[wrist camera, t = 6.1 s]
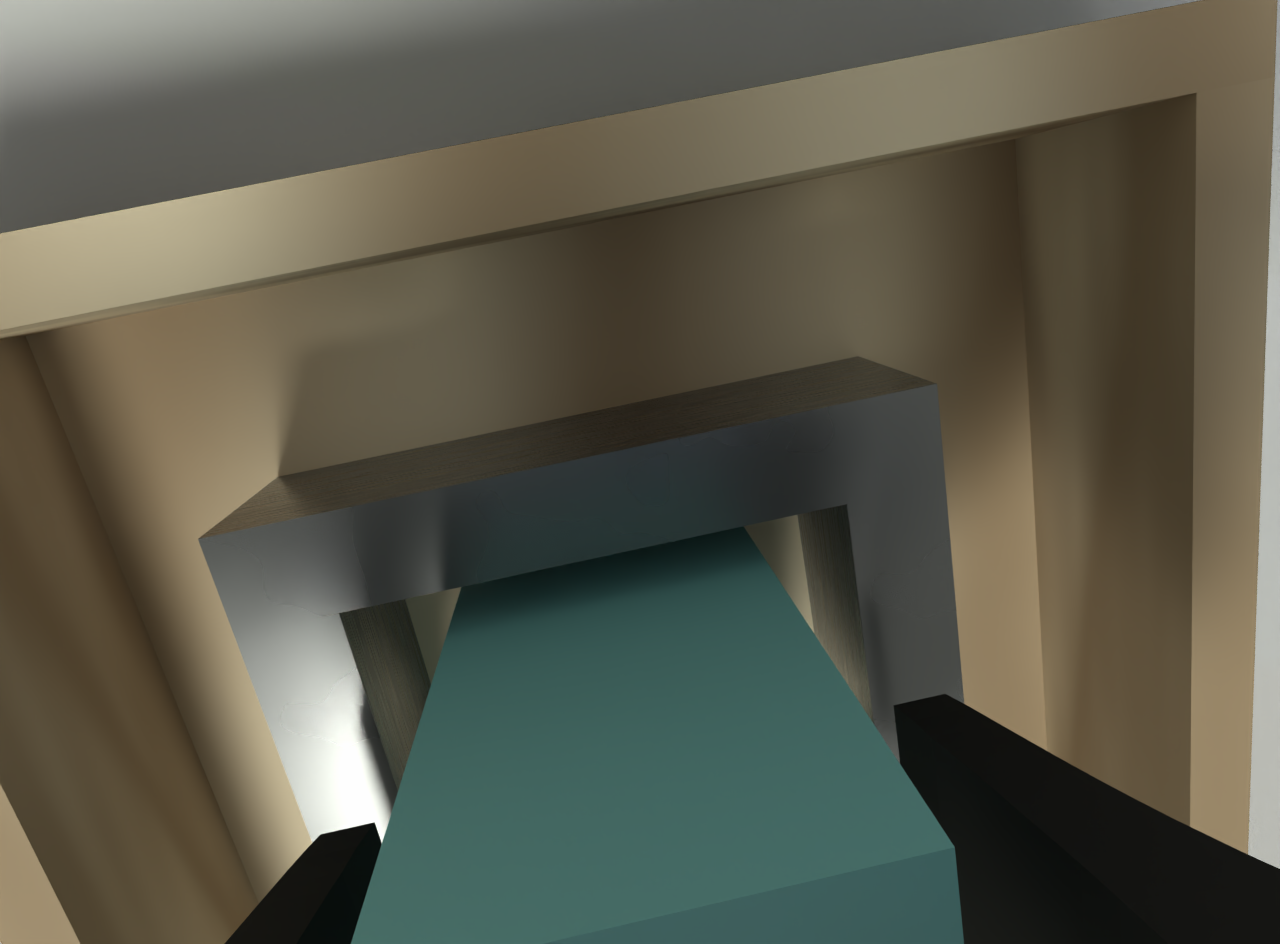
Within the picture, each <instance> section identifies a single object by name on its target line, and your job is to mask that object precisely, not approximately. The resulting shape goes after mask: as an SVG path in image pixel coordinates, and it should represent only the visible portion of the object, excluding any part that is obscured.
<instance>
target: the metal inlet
mask: <svg viewBox="0 0 1280 944" xmlns="http://www.w3.org/2000/svg"><path fill="white" fill-rule="evenodd" d="M794 515H797V516H798V523H799V530H800V537H801V544H802V551H803V558H804V565H805V572H806V579H807V586H808V593H809V600H810V607H811V614H812V621H813V628H814V634H815V636H816V637H817V639H818V640H819V642H820V643H821V645H822V646H823V648H824V649H825V651H826V652H827V654H828V655H829V657H830V658H831V660H832V661H833V663H834V664H835V666H836V668H837V669H838V671H839V672H840V674H841V675H842V677H843V678H844V680H845V681H846V683H847V684H848V686H849V687H850V689H851V690H852V692H853V693H854V695H855V696H856V698H857V699H858V701H859V702H860V704H861V706H862V707H863V709H864V710H865V712H866V713H867V715H868V716H869V718H870V719H871V721H872V722H873V724H874V725H875V727H876V728H877V730H878V731H879V733H880V734H881V736H882V737H883V739H884V740H885V742H886V744H887V745H888V747H889V748H890V750H891V751H892V753H893V754H894V756H895V757H896V759H897V760H898V762H899V763H900V758H899V749H898V741H897V732H896V723H895V715H894V706H893V705H897V704H902V703H906V702H910V701H915V700H919V699H924V698H928V697H933V696H937V695H942V694H947V695H949V696H951V697H953V698H954V699H956V700H958V701H960V702H962V703H964V694H963V682H962V671H961V659H960V647H959V635H958V624H957V612H956V600H955V588H954V576H953V565H952V553H951V541H950V529H949V518H948V506H947V494H946V482H945V471H944V459H943V447H942V435H941V424H940V412H939V400H938V388H937V383H934V382H931V381H928V380H925V379H922V378H919V377H917V376H914V375H911V374H908V373H905V372H902V371H899V370H896V369H893V368H891V367H888V366H885V365H882V364H879V363H876V362H873V361H870V360H868V359H865V358H862V357H859V356H856V357H852V358H847V359H842V360H837V361H832V362H828V363H823V364H818V365H813V366H808V367H804V368H799V369H794V370H789V371H784V372H780V373H775V374H770V375H765V376H760V377H755V378H751V379H746V380H741V381H736V382H731V383H727V384H722V385H717V386H712V387H707V388H703V389H698V390H693V391H688V392H683V393H679V394H674V395H669V396H664V397H659V398H655V399H650V400H645V401H640V402H635V403H630V404H626V405H621V406H616V407H611V408H606V409H602V410H597V411H592V412H587V413H582V414H578V415H573V416H568V417H563V418H558V419H554V420H549V421H544V422H539V423H534V424H529V425H525V426H520V427H515V428H510V429H505V430H501V431H496V432H491V433H486V434H481V435H477V436H472V437H467V438H462V439H457V440H453V441H448V442H443V443H438V444H433V445H429V446H424V447H419V448H414V449H409V450H404V451H400V452H395V453H390V454H385V455H380V456H376V457H371V458H366V459H361V460H356V461H352V462H347V463H342V464H337V465H332V466H328V467H323V468H318V469H313V470H308V471H303V472H299V473H294V474H289V475H284V476H279V477H277V478H276V479H274V480H273V481H272V482H270V483H269V484H268V485H267V486H265V487H264V488H263V489H261V490H260V491H259V492H258V493H256V494H255V495H254V496H252V497H251V498H250V499H249V500H247V501H246V502H245V503H243V504H242V505H241V506H240V507H238V508H237V509H236V510H234V511H233V512H232V513H231V514H229V515H228V516H227V517H225V518H224V519H223V520H222V521H220V522H219V523H218V524H216V525H215V526H214V527H213V528H211V529H210V530H209V531H207V532H206V533H205V534H204V535H202V536H201V537H200V538H198V541H199V544H200V546H201V549H202V552H203V554H204V557H205V559H206V562H207V565H208V567H209V570H210V573H211V575H212V578H213V581H214V583H215V586H216V589H217V591H218V594H219V597H220V599H221V602H222V605H223V607H224V610H225V613H226V615H227V618H228V621H229V623H230V626H231V628H232V631H233V634H234V636H235V639H236V642H237V644H238V647H239V650H240V652H241V655H242V658H243V660H244V663H245V666H246V668H247V671H248V674H249V676H250V679H251V682H252V684H253V687H254V690H255V692H256V695H257V697H258V700H259V703H260V705H261V708H262V711H263V713H264V716H265V719H266V721H267V724H268V727H269V729H270V732H271V735H272V737H273V740H274V743H275V745H276V748H277V751H278V753H279V756H280V759H281V761H282V764H283V766H284V769H285V772H286V774H287V777H288V780H289V782H290V785H291V788H292V790H293V793H294V796H295V798H296V801H297V804H298V806H299V809H300V812H301V814H302V817H303V820H304V822H305V825H306V827H307V830H308V833H309V835H310V838H311V841H312V843H313V842H314V841H315V840H316V839H317V838H318V836H319V835H320V834H325V833H329V832H333V831H338V830H342V829H347V828H351V827H356V826H360V825H364V824H369V823H373V822H375V825H376V828H377V831H378V833H379V836H380V839H381V842H383V838H384V835H385V832H386V829H387V825H388V822H389V819H390V816H391V813H392V809H393V806H394V803H395V800H396V796H397V793H398V790H399V787H400V783H401V780H402V777H403V774H404V771H405V767H406V764H407V761H408V758H409V754H410V751H411V748H412V745H413V741H414V738H415V735H416V732H417V729H418V725H419V722H420V719H421V716H422V712H423V709H424V706H425V703H426V699H427V696H428V693H429V690H430V687H431V683H430V679H429V676H428V673H427V670H426V666H425V663H424V660H423V656H422V653H421V650H420V647H419V643H418V640H417V637H416V633H415V630H414V627H413V623H412V620H411V617H410V614H409V610H408V607H407V604H406V600H405V599H408V598H412V597H417V596H422V595H426V594H431V593H436V592H440V591H445V590H449V589H454V588H459V587H463V586H468V585H473V584H477V583H482V582H487V581H491V580H496V579H501V578H505V577H510V576H515V575H519V574H524V573H529V572H533V571H538V570H542V569H547V568H552V567H556V566H561V565H566V564H570V563H575V562H580V561H584V560H589V559H594V558H598V557H603V556H608V555H612V554H617V553H622V552H626V551H631V550H636V549H640V548H645V547H649V546H654V545H659V544H663V543H668V542H673V541H677V540H682V539H687V538H691V537H696V536H701V535H705V534H710V533H715V532H719V531H724V530H729V529H733V528H738V527H742V526H747V525H752V524H756V523H761V522H766V521H770V520H775V519H780V518H784V517H789V516H794Z"/></svg>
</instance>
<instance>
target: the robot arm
mask: <svg viewBox="0 0 1280 944" xmlns="http://www.w3.org/2000/svg"><path fill="white" fill-rule="evenodd" d="M893 706H894V715H895V723H896V732H897V741H898V749H899V758H900V765H901V766H902V768H903V769H904V771H905V772H906V774H907V775H908V777H909V778H910V780H911V781H912V783H913V785H914V786H915V788H916V789H917V791H918V792H919V794H920V795H921V797H922V798H923V800H924V801H925V803H926V804H927V806H928V807H929V809H930V810H931V812H932V813H933V815H934V816H935V818H936V819H937V821H938V823H939V824H940V826H941V827H942V829H943V830H944V832H945V833H946V835H947V836H948V838H949V839H950V841H951V842H952V844H953V845H954V847H955V855H956V865H957V876H958V886H959V896H960V907H961V917H962V927H963V938H964V944H1280V869H1278V868H1276V867H1274V866H1272V865H1269V864H1267V863H1265V862H1263V861H1261V860H1258V859H1256V858H1254V857H1252V856H1250V855H1248V854H1246V853H1244V852H1241V851H1239V850H1237V849H1235V848H1233V847H1231V846H1229V845H1227V844H1225V843H1223V842H1221V841H1219V840H1217V839H1215V838H1213V837H1210V836H1208V835H1206V834H1204V833H1202V832H1200V831H1198V830H1196V829H1194V828H1192V827H1190V826H1188V825H1186V824H1184V823H1181V822H1179V821H1177V820H1175V819H1173V818H1171V817H1169V816H1167V815H1165V814H1164V813H1162V812H1160V811H1158V810H1156V809H1154V808H1152V807H1150V806H1148V805H1146V804H1144V803H1142V802H1140V801H1138V800H1136V799H1134V798H1132V797H1131V796H1129V795H1127V794H1125V793H1123V792H1121V791H1119V790H1117V789H1115V788H1114V787H1112V786H1110V785H1108V784H1106V783H1104V782H1102V781H1101V780H1099V779H1097V778H1095V777H1093V776H1091V775H1089V774H1088V773H1086V772H1084V771H1082V770H1080V769H1078V768H1077V767H1075V766H1073V765H1071V764H1069V763H1068V762H1066V761H1064V760H1062V759H1060V758H1059V757H1057V756H1055V755H1053V754H1051V753H1050V752H1048V751H1046V750H1044V749H1043V748H1041V747H1039V746H1037V745H1036V744H1034V743H1032V742H1030V741H1029V740H1027V739H1025V738H1023V737H1022V736H1020V735H1018V734H1016V733H1015V732H1013V731H1011V730H1009V729H1008V728H1006V727H1004V726H1002V725H1001V724H999V723H997V722H995V721H994V720H992V719H990V718H988V717H987V716H985V715H983V714H981V713H980V712H978V711H976V710H974V709H973V708H971V707H969V706H967V705H965V704H964V703H962V702H960V701H958V700H956V699H954V698H953V697H951V696H949V695H947V694H942V695H937V696H933V697H928V698H924V699H919V700H915V701H910V702H906V703H902V704H897V705H893ZM381 845H382V842H381V839H380V836H379V833H378V831H377V828H376V825H375V822H373V823H369V824H364V825H360V826H356V827H351V828H347V829H342V830H338V831H333V832H329V833H325V834H320V835H319V836H318V838H317V839H316V840H315V841H314V842H313V843H312V844H311V845H310V846H309V847H308V848H307V849H306V850H305V851H304V852H303V853H302V855H301V856H300V857H299V858H298V859H297V860H296V861H295V862H294V864H293V865H292V866H291V867H290V868H289V869H288V870H287V872H286V873H285V874H284V875H283V876H282V877H281V878H280V880H279V881H278V882H277V883H276V884H275V885H274V887H273V888H272V889H271V890H270V891H269V892H268V894H267V895H266V896H265V897H264V898H263V899H262V901H261V902H260V903H259V904H258V905H257V906H256V908H255V909H254V910H253V911H252V912H251V913H250V915H249V916H248V917H247V918H246V919H245V920H244V922H243V923H242V924H241V925H240V926H239V927H238V929H237V930H236V931H235V932H234V933H233V934H232V935H231V937H230V938H229V939H228V940H227V941H226V942H225V943H224V944H351V942H352V938H353V935H354V932H355V929H356V926H357V922H358V919H359V916H360V913H361V909H362V906H363V903H364V900H365V896H366V893H367V890H368V887H369V884H370V880H371V877H372V874H373V871H374V867H375V864H376V861H377V858H378V854H379V851H380V848H381Z"/></svg>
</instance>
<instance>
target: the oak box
mask: <svg viewBox="0 0 1280 944" xmlns="http://www.w3.org/2000/svg"><path fill="white" fill-rule="evenodd" d="M1276 24H1277V0H1202V1H1196V2H1191V3H1186V4H1181V5H1176V6H1171V7H1165V8H1160V9H1155V10H1150V11H1145V12H1140V13H1135V14H1129V15H1124V16H1119V17H1114V18H1109V19H1104V20H1098V21H1093V22H1088V23H1083V24H1078V25H1073V26H1067V27H1062V28H1057V29H1052V30H1047V31H1042V32H1037V33H1031V34H1026V35H1021V36H1016V37H1011V38H1006V39H1000V40H995V41H990V42H985V43H980V44H975V45H970V46H964V47H959V48H954V49H949V50H944V51H939V52H933V53H928V54H923V55H918V56H913V57H908V58H903V59H897V60H892V61H887V62H882V63H877V64H872V65H866V66H861V67H856V68H851V69H846V70H841V71H835V72H830V73H825V74H820V75H815V76H810V77H805V78H799V79H794V80H789V81H784V82H779V83H774V84H768V85H763V86H758V87H753V88H748V89H743V90H738V91H732V92H727V93H722V94H717V95H712V96H707V97H701V98H696V99H691V100H686V101H681V102H676V103H671V104H665V105H660V106H655V107H650V108H645V109H640V110H634V111H629V112H624V113H619V114H614V115H609V116H603V117H598V118H593V119H588V120H583V121H578V122H573V123H567V124H562V125H557V126H552V127H547V128H542V129H536V130H531V131H526V132H521V133H516V134H511V135H506V136H500V137H495V138H490V139H485V140H480V141H475V142H469V143H464V144H459V145H454V146H449V147H444V148H439V149H433V150H428V151H423V152H418V153H413V154H408V155H402V156H397V157H392V158H387V159H382V160H377V161H372V162H366V163H361V164H356V165H351V166H346V167H341V168H335V169H330V170H325V171H320V172H315V173H310V174H304V175H299V176H294V177H289V178H284V179H279V180H274V181H268V182H263V183H258V184H253V185H248V186H243V187H237V188H232V189H227V190H222V191H217V192H212V193H207V194H201V195H196V196H191V197H186V198H181V199H176V200H170V201H165V202H160V203H155V204H150V205H145V206H140V207H134V208H129V209H124V210H119V211H114V212H109V213H103V214H98V215H93V216H88V217H83V218H78V219H72V220H67V221H62V222H57V223H52V224H47V225H42V226H36V227H31V228H26V229H21V230H16V231H11V232H5V233H0V942H1V944H224V943H225V942H226V941H227V940H228V939H229V938H230V937H231V935H232V934H233V933H234V932H235V931H236V930H237V929H238V927H239V926H240V925H241V924H242V923H243V922H244V920H245V919H246V918H247V917H248V916H249V915H250V913H251V912H252V911H253V910H254V909H255V908H256V906H257V905H258V904H259V903H260V902H261V901H262V899H263V898H264V897H265V896H266V895H267V894H268V892H269V891H270V890H271V889H272V888H273V887H274V885H275V884H276V883H277V882H278V881H279V880H280V878H281V877H282V876H283V875H284V874H285V873H286V872H287V870H288V869H289V868H290V867H291V866H292V865H293V864H294V862H295V861H296V860H297V859H298V858H299V857H300V856H301V855H302V853H303V852H304V851H305V850H306V849H307V848H308V847H309V846H310V845H311V844H312V841H311V838H310V835H309V833H308V830H307V827H306V825H305V822H304V820H303V817H302V814H301V812H300V809H299V806H298V804H297V801H296V798H295V796H294V793H293V790H292V788H291V785H290V782H289V780H288V777H287V774H286V772H285V769H284V766H283V764H282V761H281V759H280V756H279V753H278V751H277V748H276V745H275V743H274V740H273V737H272V735H271V732H270V729H269V727H268V724H267V721H266V719H265V716H264V713H263V711H262V708H261V705H260V703H259V700H258V697H257V695H256V692H255V690H254V687H253V684H252V682H251V679H250V676H249V674H248V671H247V668H246V666H245V663H244V660H243V658H242V655H241V652H240V650H239V647H238V644H237V642H236V639H235V636H234V634H233V631H232V628H231V626H230V623H229V621H228V618H227V615H226V613H225V610H224V607H223V605H222V602H221V599H220V597H219V594H218V591H217V589H216V586H215V583H214V581H213V578H212V575H211V573H210V570H209V567H208V565H207V562H206V559H205V557H204V554H203V552H202V549H201V546H200V544H199V541H198V538H200V537H201V536H202V535H204V534H205V533H206V532H207V531H209V530H210V529H211V528H213V527H214V526H215V525H216V524H218V523H219V522H220V521H222V520H223V519H224V518H225V517H227V516H228V515H229V514H231V513H232V512H233V511H234V510H236V509H237V508H238V507H240V506H241V505H242V504H243V503H245V502H246V501H247V500H249V499H250V498H251V497H252V496H254V495H255V494H256V493H258V492H259V491H260V490H261V489H263V488H264V487H265V486H267V485H268V484H269V483H270V482H272V481H273V480H274V479H276V478H277V477H279V476H284V475H289V474H294V473H299V472H303V471H308V470H313V469H318V468H323V467H328V466H332V465H337V464H342V463H347V462H352V461H356V460H361V459H366V458H371V457H376V456H380V455H385V454H390V453H395V452H400V451H404V450H409V449H414V448H419V447H424V446H429V445H433V444H438V443H443V442H448V441H453V440H457V439H462V438H467V437H472V436H477V435H481V434H486V433H491V432H496V431H501V430H505V429H510V428H515V427H520V426H525V425H529V424H534V423H539V422H544V421H549V420H554V419H558V418H563V417H568V416H573V415H578V414H582V413H587V412H592V411H597V410H602V409H606V408H611V407H616V406H621V405H626V404H630V403H635V402H640V401H645V400H650V399H655V398H659V397H664V396H669V395H674V394H679V393H683V392H688V391H693V390H698V389H703V388H707V387H712V386H717V385H722V384H727V383H731V382H736V381H741V380H746V379H751V378H755V377H760V376H765V375H770V374H775V373H780V372H784V371H789V370H794V369H799V368H804V367H808V366H813V365H818V364H823V363H828V362H832V361H837V360H842V359H847V358H852V357H856V356H859V357H862V358H865V359H868V360H870V361H873V362H876V363H879V364H882V365H885V366H888V367H891V368H893V369H896V370H899V371H902V372H905V373H908V374H911V375H914V376H917V377H919V378H922V379H925V380H928V381H931V382H934V383H937V388H938V400H939V412H940V424H941V435H942V447H943V459H944V471H945V482H946V494H947V506H948V518H949V529H950V541H951V553H952V565H953V576H954V588H955V600H956V612H957V624H958V635H959V647H960V659H961V671H962V682H963V694H964V704H965V705H967V706H969V707H971V708H973V709H974V710H976V711H978V712H980V713H981V714H983V715H985V716H987V717H988V718H990V719H992V720H994V721H995V722H997V723H999V724H1001V725H1002V726H1004V727H1006V728H1008V729H1009V730H1011V731H1013V732H1015V733H1016V734H1018V735H1020V736H1022V737H1023V738H1025V739H1027V740H1029V741H1030V742H1032V743H1034V744H1036V745H1037V746H1039V747H1041V748H1043V749H1044V750H1046V751H1048V752H1050V753H1051V754H1053V755H1055V756H1057V757H1059V758H1060V759H1062V760H1064V761H1066V762H1068V763H1069V764H1071V765H1073V766H1075V767H1077V768H1078V769H1080V770H1082V771H1084V772H1086V773H1088V774H1089V775H1091V776H1093V777H1095V778H1097V779H1099V780H1101V781H1102V782H1104V783H1106V784H1108V785H1110V786H1112V787H1114V788H1115V789H1117V790H1119V791H1121V792H1123V793H1125V794H1127V795H1129V796H1131V797H1132V798H1134V799H1136V800H1138V801H1140V802H1142V803H1144V804H1146V805H1148V806H1150V807H1152V808H1154V809H1156V810H1158V811H1160V812H1162V813H1164V814H1165V815H1167V816H1169V817H1171V818H1173V819H1175V820H1177V821H1179V822H1181V823H1184V824H1186V825H1188V826H1190V827H1192V828H1194V829H1196V830H1198V831H1200V832H1202V833H1204V834H1206V835H1208V836H1210V837H1213V838H1215V839H1217V840H1219V841H1221V842H1223V843H1225V844H1227V845H1229V846H1231V847H1233V848H1235V849H1237V850H1239V851H1241V852H1244V853H1246V854H1248V835H1249V806H1250V777H1251V748H1252V719H1253V690H1254V661H1255V632H1256V603H1257V574H1258V545H1259V516H1260V487H1261V458H1262V429H1263V400H1264V371H1265V343H1266V314H1267V285H1268V256H1269V227H1270V198H1271V169H1272V140H1273V111H1274V82H1275V53H1276ZM744 528H745V529H746V531H747V532H748V534H749V535H750V537H751V538H752V540H753V541H754V543H755V544H756V546H757V548H758V549H759V551H760V552H761V554H762V555H763V557H764V558H765V560H766V561H767V563H768V564H769V566H770V567H771V569H772V570H773V572H774V573H775V575H776V576H777V578H778V579H779V581H780V582H781V584H782V585H783V587H784V589H785V590H786V592H787V593H788V595H789V596H790V598H791V599H792V601H793V602H794V604H795V605H796V607H797V608H798V610H799V611H800V613H801V614H802V616H803V617H804V619H805V620H806V622H807V623H808V625H809V627H810V628H811V630H812V631H813V633H814V628H813V621H812V614H811V607H810V600H809V593H808V586H807V579H806V572H805V565H804V558H803V551H802V544H801V537H800V530H799V523H798V516H797V515H794V516H789V517H784V518H780V519H775V520H770V521H766V522H761V523H756V524H752V525H747V526H744ZM460 590H461V587H459V588H454V589H449V590H445V591H440V592H436V593H431V594H426V595H422V596H417V597H412V598H408V599H405V600H406V604H407V607H408V610H409V614H410V617H411V620H412V623H413V627H414V630H415V633H416V637H417V640H418V643H419V647H420V650H421V653H422V656H423V660H424V663H425V666H426V670H427V673H428V676H429V679H430V683H432V680H433V677H434V674H435V670H436V667H437V664H438V661H439V658H440V654H441V651H442V648H443V645H444V641H445V638H446V635H447V632H448V628H449V625H450V622H451V619H452V616H453V612H454V609H455V606H456V603H457V599H458V596H459V593H460Z"/></svg>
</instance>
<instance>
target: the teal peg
mask: <svg viewBox="0 0 1280 944" xmlns="http://www.w3.org/2000/svg"><path fill="white" fill-rule="evenodd" d="M351 944H964V938H963V927H962V917H961V907H960V896H959V886H958V876H957V865H956V855H955V847H954V845H953V844H952V842H951V841H950V839H949V838H948V836H947V835H946V833H945V832H944V830H943V829H942V827H941V826H940V824H939V823H938V821H937V819H936V818H935V816H934V815H933V813H932V812H931V810H930V809H929V807H928V806H927V804H926V803H925V801H924V800H923V798H922V797H921V795H920V794H919V792H918V791H917V789H916V788H915V786H914V785H913V783H912V781H911V780H910V778H909V777H908V775H907V774H906V772H905V771H904V769H903V768H902V766H901V765H900V763H899V762H898V760H897V759H896V757H895V756H894V754H893V753H892V751H891V750H890V748H889V747H888V745H887V744H886V742H885V740H884V739H883V737H882V736H881V734H880V733H879V731H878V730H877V728H876V727H875V725H874V724H873V722H872V721H871V719H870V718H869V716H868V715H867V713H866V712H865V710H864V709H863V707H862V706H861V704H860V702H859V701H858V699H857V698H856V696H855V695H854V693H853V692H852V690H851V689H850V687H849V686H848V684H847V683H846V681H845V680H844V678H843V677H842V675H841V674H840V672H839V671H838V669H837V668H836V666H835V664H834V663H833V661H832V660H831V658H830V657H829V655H828V654H827V652H826V651H825V649H824V648H823V646H822V645H821V643H820V642H819V640H818V639H817V637H816V636H815V634H814V633H813V631H812V630H811V628H810V627H809V625H808V623H807V622H806V620H805V619H804V617H803V616H802V614H801V613H800V611H799V610H798V608H797V607H796V605H795V604H794V602H793V601H792V599H791V598H790V596H789V595H788V593H787V592H786V590H785V589H784V587H783V585H782V584H781V582H780V581H779V579H778V578H777V576H776V575H775V573H774V572H773V570H772V569H771V567H770V566H769V564H768V563H767V561H766V560H765V558H764V557H763V555H762V554H761V552H760V551H759V549H758V548H757V546H756V544H755V543H754V541H753V540H752V538H751V537H750V535H749V534H748V532H747V531H746V529H745V528H744V526H742V527H738V528H733V529H729V530H724V531H719V532H715V533H710V534H705V535H701V536H696V537H691V538H687V539H682V540H677V541H673V542H668V543H663V544H659V545H654V546H649V547H645V548H640V549H636V550H631V551H626V552H622V553H617V554H612V555H608V556H603V557H598V558H594V559H589V560H584V561H580V562H575V563H570V564H566V565H561V566H556V567H552V568H547V569H542V570H538V571H533V572H529V573H524V574H519V575H515V576H510V577H505V578H501V579H496V580H491V581H487V582H482V583H477V584H473V585H468V586H463V587H461V590H460V593H459V596H458V599H457V603H456V606H455V609H454V612H453V616H452V619H451V622H450V625H449V628H448V632H447V635H446V638H445V641H444V645H443V648H442V651H441V654H440V658H439V661H438V664H437V667H436V670H435V674H434V677H433V680H432V683H431V687H430V690H429V693H428V696H427V699H426V703H425V706H424V709H423V712H422V716H421V719H420V722H419V725H418V729H417V732H416V735H415V738H414V741H413V745H412V748H411V751H410V754H409V758H408V761H407V764H406V767H405V771H404V774H403V777H402V780H401V783H400V787H399V790H398V793H397V796H396V800H395V803H394V806H393V809H392V813H391V816H390V819H389V822H388V825H387V829H386V832H385V835H384V838H383V842H382V845H381V848H380V851H379V854H378V858H377V861H376V864H375V867H374V871H373V874H372V877H371V880H370V884H369V887H368V890H367V893H366V896H365V900H364V903H363V906H362V909H361V913H360V916H359V919H358V922H357V926H356V929H355V932H354V935H353V938H352V942H351Z"/></svg>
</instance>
